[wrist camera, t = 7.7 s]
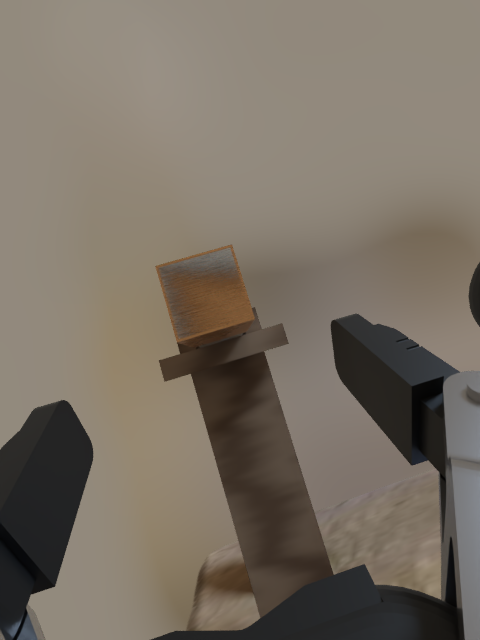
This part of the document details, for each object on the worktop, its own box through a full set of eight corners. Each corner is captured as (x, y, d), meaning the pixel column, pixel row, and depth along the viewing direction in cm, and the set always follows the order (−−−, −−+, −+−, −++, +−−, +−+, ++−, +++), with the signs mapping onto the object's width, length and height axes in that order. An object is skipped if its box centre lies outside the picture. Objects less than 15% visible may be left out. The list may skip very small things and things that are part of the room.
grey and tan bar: (237, 344, 37) (229, 318, 37) (255, 319, 13) (231, 244, 13) (210, 353, 36) (202, 326, 37) (177, 342, 13) (155, 266, 13)
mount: (348, 608, 37) (258, 323, 40) (462, 846, 19) (283, 294, 22) (264, 639, 36) (180, 346, 39) (298, 917, 18) (141, 336, 22)
